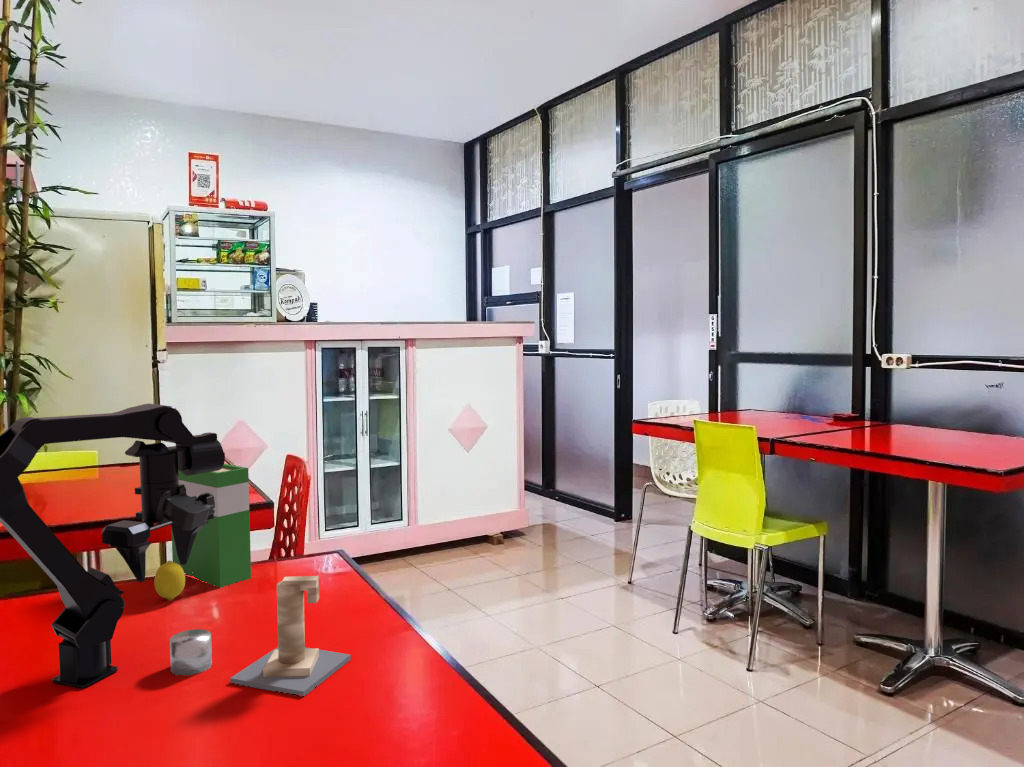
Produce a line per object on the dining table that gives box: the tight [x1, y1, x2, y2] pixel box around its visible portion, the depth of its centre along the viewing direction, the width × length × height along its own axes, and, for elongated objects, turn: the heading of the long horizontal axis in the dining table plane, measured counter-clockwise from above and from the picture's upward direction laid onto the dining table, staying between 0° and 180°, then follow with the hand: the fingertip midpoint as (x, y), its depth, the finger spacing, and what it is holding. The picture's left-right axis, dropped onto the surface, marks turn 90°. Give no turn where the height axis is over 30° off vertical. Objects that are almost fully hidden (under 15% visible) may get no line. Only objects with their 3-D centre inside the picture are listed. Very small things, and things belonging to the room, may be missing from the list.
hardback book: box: [171, 463, 252, 589], centre depth 162 cm, size 18×7×24 cm, turn 55°
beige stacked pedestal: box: [263, 575, 320, 677], centre depth 117 cm, size 8×7×14 cm
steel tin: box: [169, 628, 213, 677], centre depth 118 cm, size 6×6×5 cm
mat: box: [229, 646, 352, 697], centre depth 117 cm, size 13×13×1 cm
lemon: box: [153, 560, 186, 602], centre depth 147 cm, size 6×6×8 cm
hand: (163, 572), depth 124 cm, fingers open, 9 cm apart
